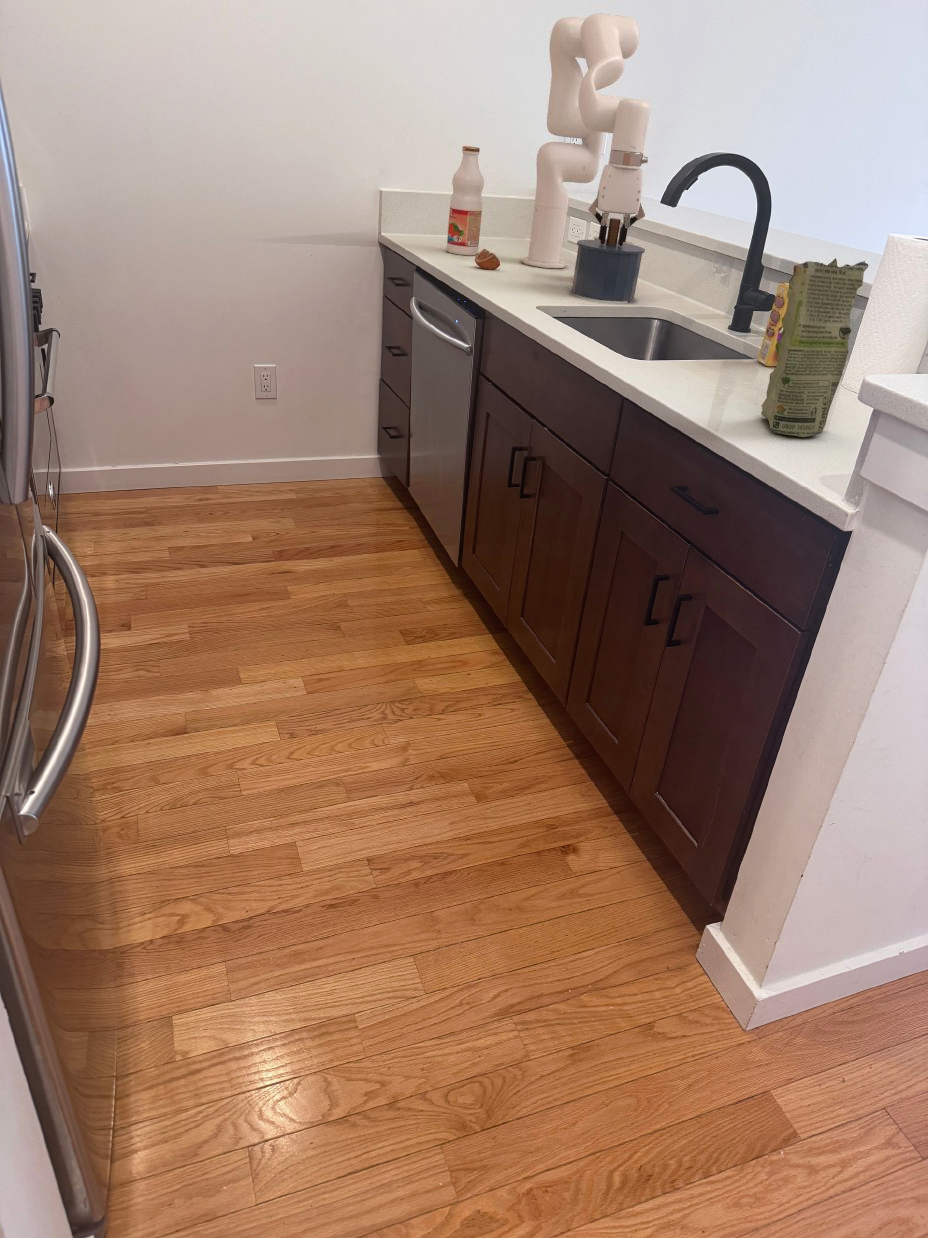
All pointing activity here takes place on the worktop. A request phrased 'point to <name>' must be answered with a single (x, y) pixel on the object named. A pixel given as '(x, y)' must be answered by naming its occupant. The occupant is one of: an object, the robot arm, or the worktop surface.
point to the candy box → (774, 327)
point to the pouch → (812, 346)
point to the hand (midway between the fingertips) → (611, 243)
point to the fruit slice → (487, 260)
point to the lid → (611, 242)
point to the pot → (606, 275)
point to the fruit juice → (466, 205)
